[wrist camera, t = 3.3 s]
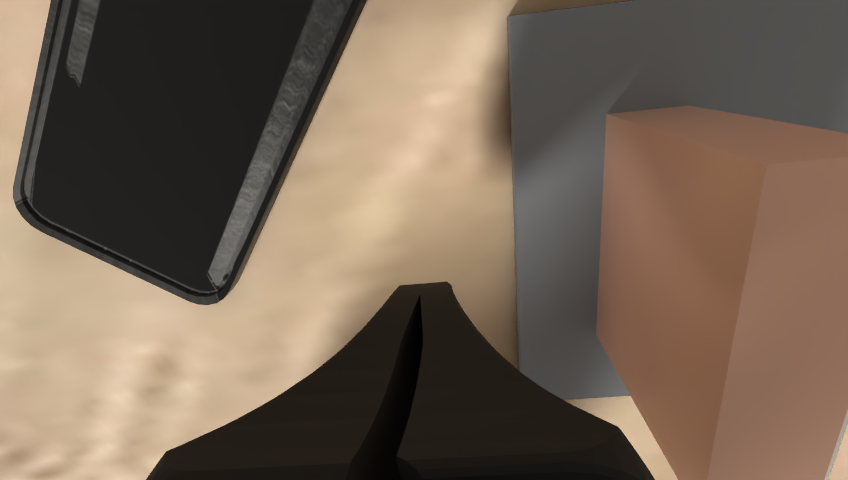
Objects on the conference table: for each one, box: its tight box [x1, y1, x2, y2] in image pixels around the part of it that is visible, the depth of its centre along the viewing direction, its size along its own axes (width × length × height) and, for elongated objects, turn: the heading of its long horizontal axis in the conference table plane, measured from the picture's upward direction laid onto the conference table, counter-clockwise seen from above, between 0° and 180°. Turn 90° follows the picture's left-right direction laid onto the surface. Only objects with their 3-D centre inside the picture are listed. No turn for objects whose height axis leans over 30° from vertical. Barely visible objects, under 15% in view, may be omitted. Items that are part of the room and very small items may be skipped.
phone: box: [13, 0, 366, 305], centre depth 14 cm, size 8×1×15 cm
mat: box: [507, 0, 848, 400], centre depth 15 cm, size 14×13×1 cm
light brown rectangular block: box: [596, 105, 848, 480], centre depth 11 cm, size 8×3×7 cm, turn 6°
